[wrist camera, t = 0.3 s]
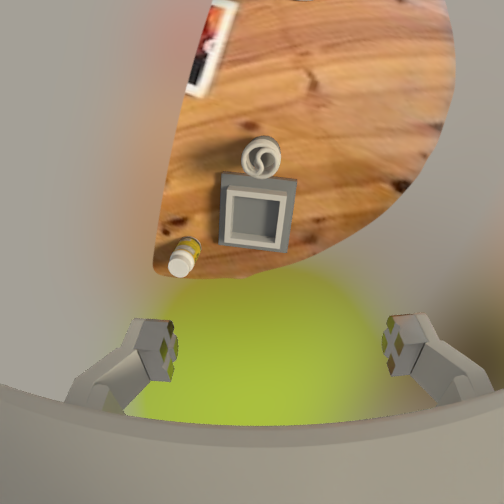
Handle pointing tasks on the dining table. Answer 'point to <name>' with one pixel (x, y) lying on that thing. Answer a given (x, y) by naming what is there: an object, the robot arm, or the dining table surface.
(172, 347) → the robot arm
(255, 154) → the light bulb
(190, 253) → the supplement bottle
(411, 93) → the dining table surface
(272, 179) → the bulb socket
